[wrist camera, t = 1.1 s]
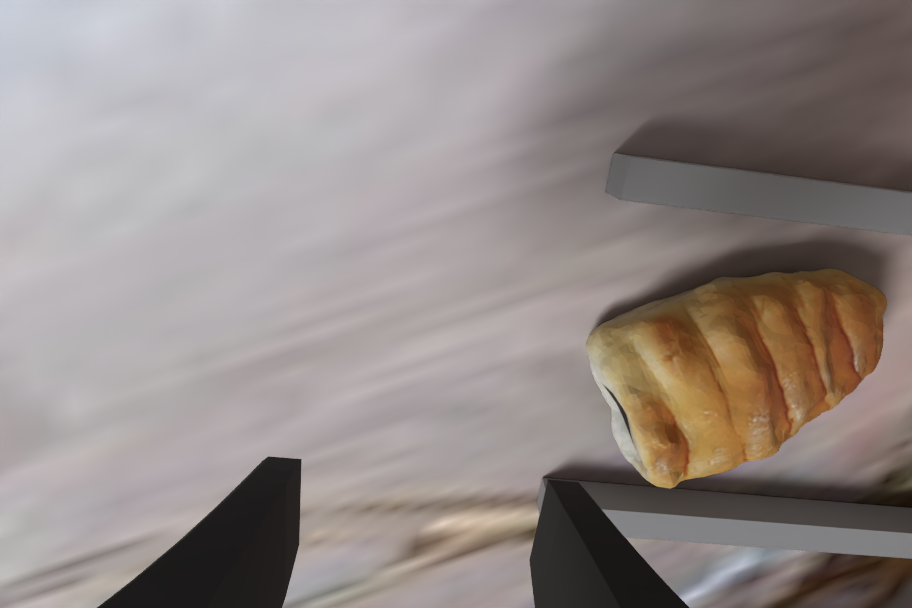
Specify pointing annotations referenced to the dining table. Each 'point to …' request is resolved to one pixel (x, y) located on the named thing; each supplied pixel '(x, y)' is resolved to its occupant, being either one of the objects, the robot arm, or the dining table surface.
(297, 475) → the robot arm
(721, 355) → the pastry
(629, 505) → the bay
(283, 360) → the dining table surface
